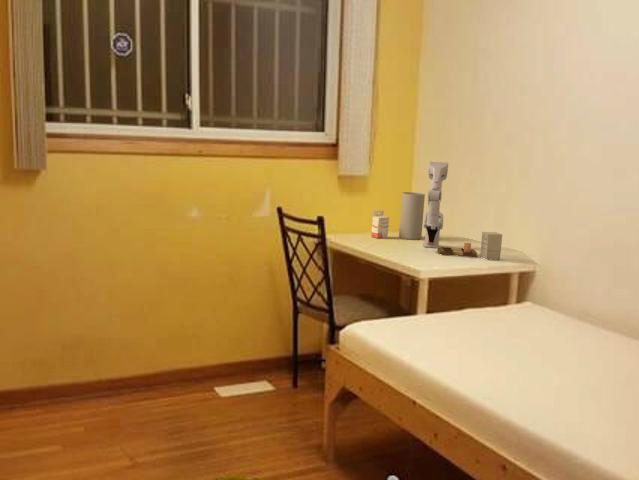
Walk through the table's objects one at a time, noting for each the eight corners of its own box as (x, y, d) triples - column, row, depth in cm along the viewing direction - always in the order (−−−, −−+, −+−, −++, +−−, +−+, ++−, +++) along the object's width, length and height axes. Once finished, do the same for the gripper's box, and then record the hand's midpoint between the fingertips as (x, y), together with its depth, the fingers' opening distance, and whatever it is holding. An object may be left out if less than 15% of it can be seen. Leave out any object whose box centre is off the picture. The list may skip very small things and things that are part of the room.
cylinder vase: (417, 236, 385) (421, 192, 381) (424, 240, 372) (427, 195, 368) (396, 235, 383) (399, 191, 379) (402, 239, 371) (405, 194, 367)
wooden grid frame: (437, 250, 340) (437, 246, 340) (473, 253, 339) (473, 249, 339) (439, 254, 328) (439, 250, 328) (476, 257, 327) (477, 253, 327)
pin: (462, 254, 332) (464, 242, 331) (469, 255, 332) (470, 243, 331) (463, 256, 329) (464, 243, 328) (470, 256, 329) (471, 244, 328)
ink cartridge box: (377, 238, 368) (379, 212, 366) (370, 237, 372) (372, 210, 370) (388, 237, 374) (390, 211, 372) (381, 236, 378) (383, 210, 375)
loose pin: (427, 244, 337) (428, 232, 336) (433, 244, 337) (434, 232, 336) (427, 245, 334) (428, 233, 333) (434, 245, 333) (435, 233, 332)
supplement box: (493, 257, 330) (496, 231, 328) (500, 260, 323) (502, 234, 321) (479, 257, 329) (481, 231, 327) (485, 260, 321) (488, 233, 319)
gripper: (423, 212, 340) (421, 238, 342) (425, 215, 326) (423, 243, 328) (438, 213, 340) (435, 239, 342) (440, 216, 325) (438, 244, 328)
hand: (430, 241), depth 335 cm, fingers closed on loose pin, 3 cm apart
